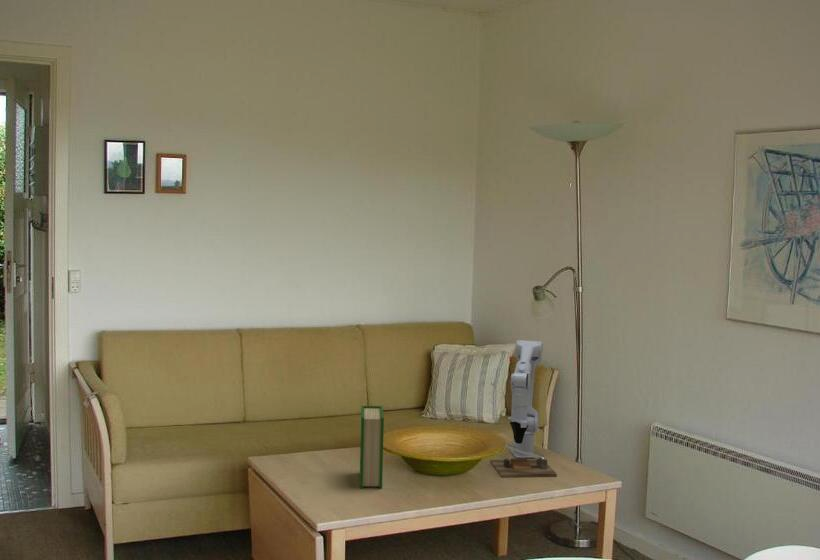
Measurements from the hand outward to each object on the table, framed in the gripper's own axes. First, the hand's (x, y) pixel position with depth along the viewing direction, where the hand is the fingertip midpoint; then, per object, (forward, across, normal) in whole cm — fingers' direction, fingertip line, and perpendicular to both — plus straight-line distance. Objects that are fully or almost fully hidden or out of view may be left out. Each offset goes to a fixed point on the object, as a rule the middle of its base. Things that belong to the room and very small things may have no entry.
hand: (518, 442), depth 323 cm
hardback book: (+10, +11, -54) cm, 56 cm away
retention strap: (+4, 0, +2) cm, 5 cm away
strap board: (+10, 0, +2) cm, 10 cm away
